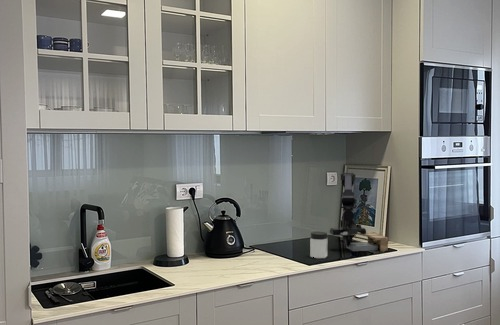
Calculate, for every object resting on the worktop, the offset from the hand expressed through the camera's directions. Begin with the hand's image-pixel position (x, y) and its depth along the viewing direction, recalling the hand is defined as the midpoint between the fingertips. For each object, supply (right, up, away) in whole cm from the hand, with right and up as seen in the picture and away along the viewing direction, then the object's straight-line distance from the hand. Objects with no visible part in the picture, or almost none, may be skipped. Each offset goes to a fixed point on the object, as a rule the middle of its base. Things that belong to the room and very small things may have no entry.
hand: (347, 247), depth 268 cm
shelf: (+15, -1, +3) cm, 15 cm away
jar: (-18, -2, -16) cm, 24 cm away
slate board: (+8, -2, +2) cm, 8 cm away
